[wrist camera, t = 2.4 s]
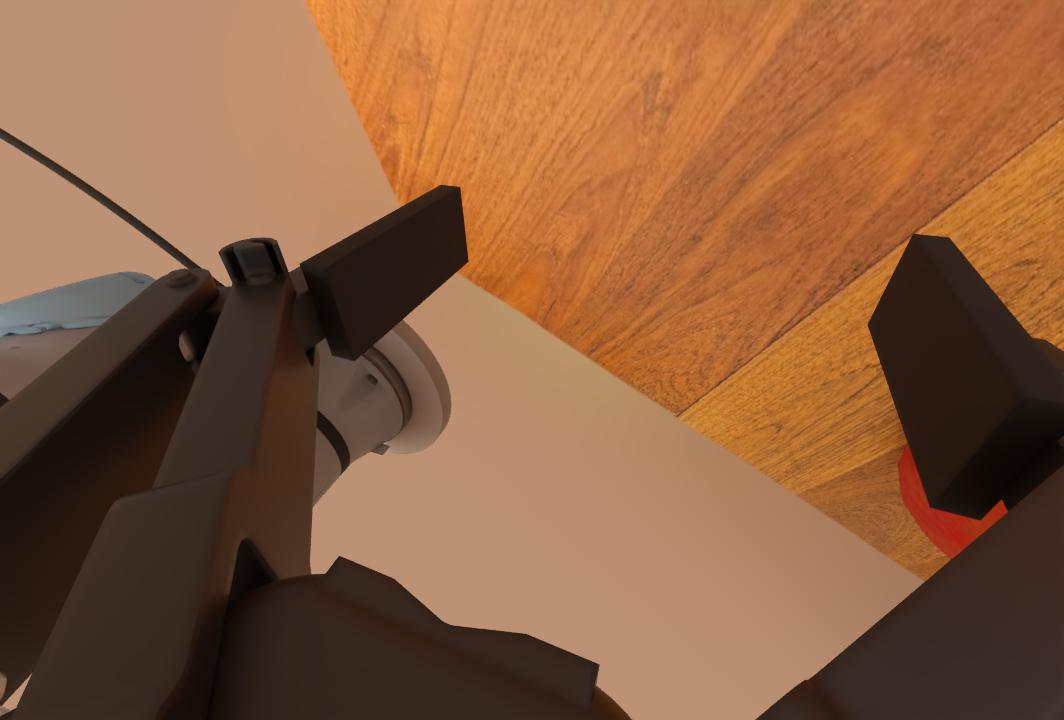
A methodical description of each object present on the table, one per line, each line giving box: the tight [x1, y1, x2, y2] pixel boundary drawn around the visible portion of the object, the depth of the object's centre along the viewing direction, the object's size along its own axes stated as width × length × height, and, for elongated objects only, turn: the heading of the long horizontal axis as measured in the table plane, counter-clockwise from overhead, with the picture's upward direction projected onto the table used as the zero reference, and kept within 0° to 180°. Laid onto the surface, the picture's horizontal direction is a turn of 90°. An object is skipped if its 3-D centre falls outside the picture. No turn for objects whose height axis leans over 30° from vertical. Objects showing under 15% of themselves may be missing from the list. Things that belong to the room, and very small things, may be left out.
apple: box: [898, 444, 1008, 559], centre depth 25 cm, size 8×8×11 cm
